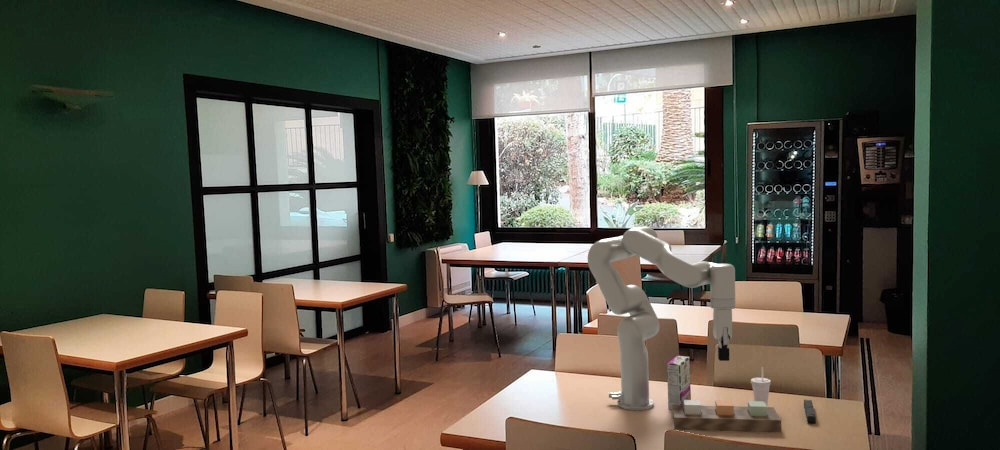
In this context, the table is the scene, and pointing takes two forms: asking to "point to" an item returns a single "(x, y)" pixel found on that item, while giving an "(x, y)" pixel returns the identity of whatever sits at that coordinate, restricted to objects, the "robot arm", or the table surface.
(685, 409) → the grey button
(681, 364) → the candy bar box
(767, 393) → the smoothie
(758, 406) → the sage button
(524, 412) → the table surface
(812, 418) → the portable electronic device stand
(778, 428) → the console
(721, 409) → the tan block
